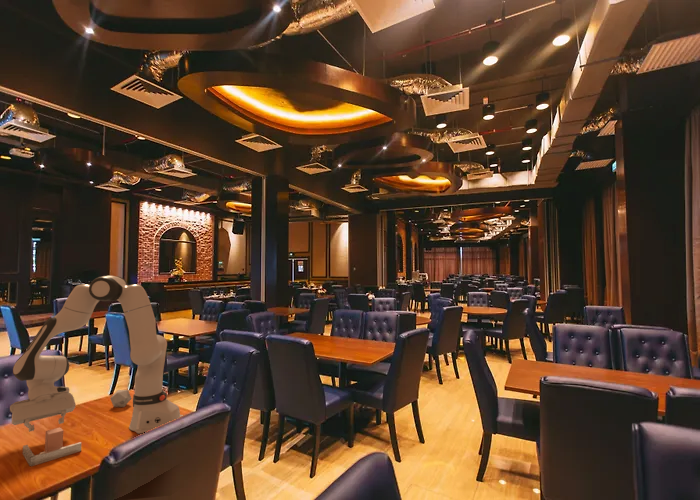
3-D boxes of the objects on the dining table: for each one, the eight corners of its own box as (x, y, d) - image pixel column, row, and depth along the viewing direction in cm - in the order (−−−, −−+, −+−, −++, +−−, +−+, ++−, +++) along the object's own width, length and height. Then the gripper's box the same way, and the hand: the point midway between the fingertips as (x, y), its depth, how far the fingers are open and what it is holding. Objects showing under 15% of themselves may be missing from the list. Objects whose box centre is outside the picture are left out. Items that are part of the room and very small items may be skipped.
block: (59, 448, 144) (60, 427, 144) (62, 452, 141) (63, 430, 141) (44, 452, 140) (45, 430, 141) (47, 456, 137) (48, 434, 138)
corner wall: (22, 453, 140) (23, 445, 140) (71, 440, 151) (71, 432, 151) (30, 466, 131) (30, 457, 131) (81, 451, 142) (81, 442, 142)
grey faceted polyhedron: (115, 411, 183) (129, 394, 186) (103, 402, 185) (117, 384, 188) (124, 412, 191) (138, 394, 194) (112, 402, 192) (126, 385, 196)
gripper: (10, 398, 147) (13, 431, 140) (73, 386, 162) (78, 414, 155) (8, 407, 149) (11, 439, 142) (70, 394, 165) (75, 422, 158)
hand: (47, 426), depth 149 cm, fingers open, 8 cm apart
